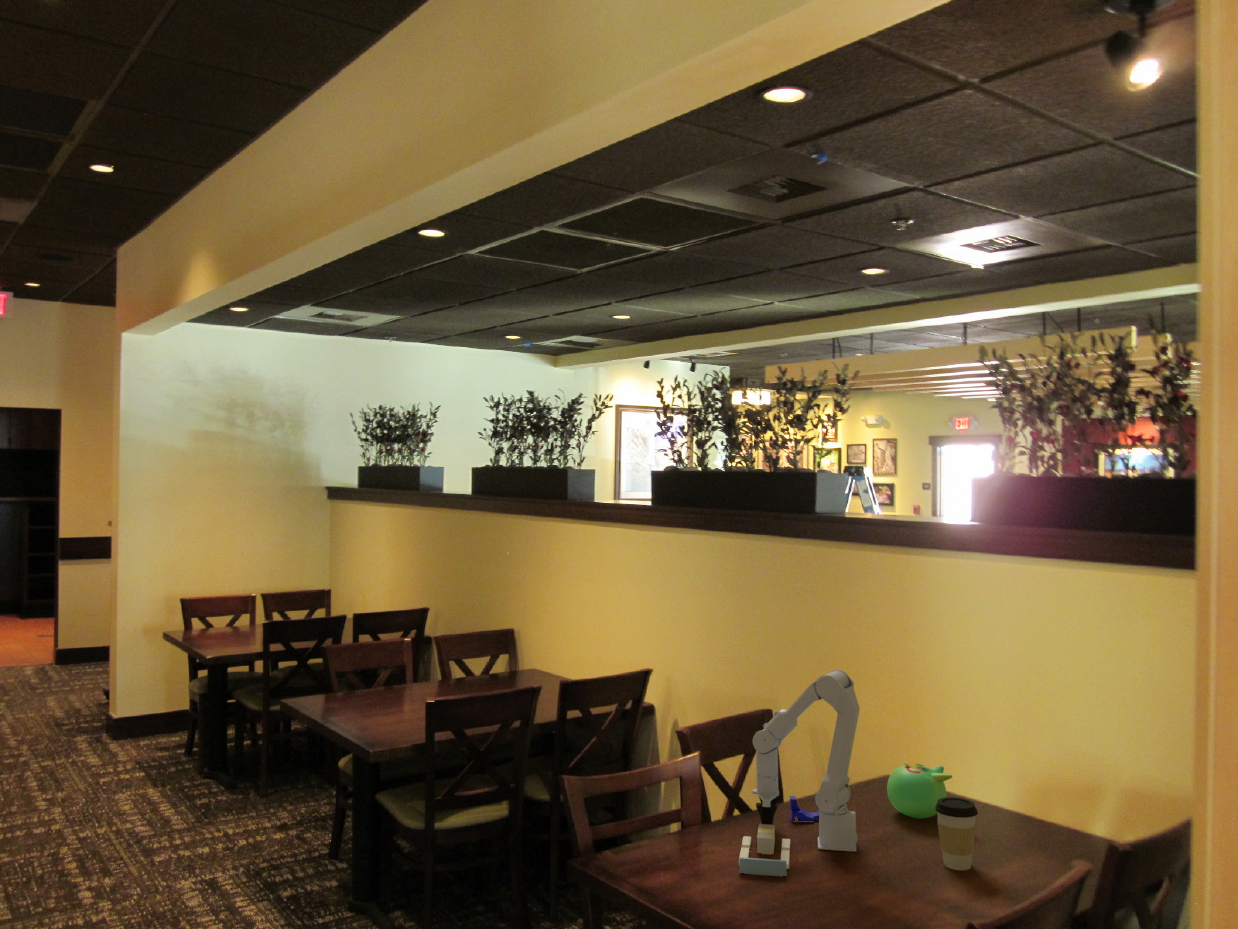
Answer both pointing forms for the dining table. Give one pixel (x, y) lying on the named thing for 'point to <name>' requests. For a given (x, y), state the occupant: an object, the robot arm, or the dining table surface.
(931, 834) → the dining table surface
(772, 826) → the banded cream box
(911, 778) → the toy bird
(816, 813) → the navy blue l-shaped piece
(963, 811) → the coffee cup
